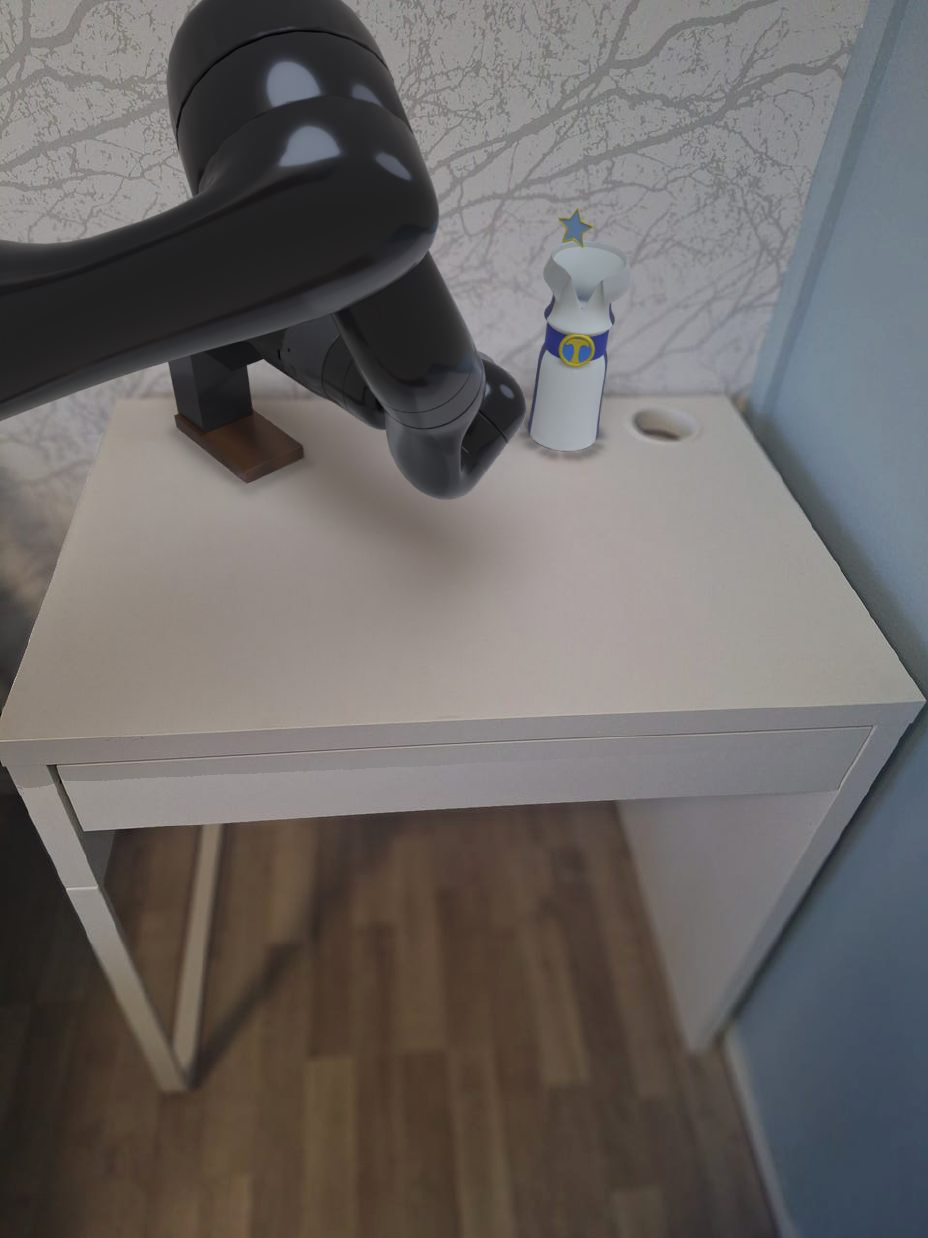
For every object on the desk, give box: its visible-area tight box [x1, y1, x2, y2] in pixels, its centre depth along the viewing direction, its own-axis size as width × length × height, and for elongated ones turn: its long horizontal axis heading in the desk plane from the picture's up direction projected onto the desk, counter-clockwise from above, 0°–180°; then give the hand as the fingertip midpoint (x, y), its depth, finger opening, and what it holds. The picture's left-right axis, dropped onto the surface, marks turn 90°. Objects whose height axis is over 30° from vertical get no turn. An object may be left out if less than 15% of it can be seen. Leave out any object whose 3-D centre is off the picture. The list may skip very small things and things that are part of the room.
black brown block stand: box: [167, 352, 305, 484], centre depth 92 cm, size 7×13×10 cm, turn 44°
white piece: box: [527, 207, 633, 452], centre depth 91 cm, size 8×9×25 cm
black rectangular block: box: [204, 341, 264, 371], centre depth 85 cm, size 4×5×9 cm
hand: (207, 272), depth 84 cm, fingers closed on black rectangular block, 4 cm apart
